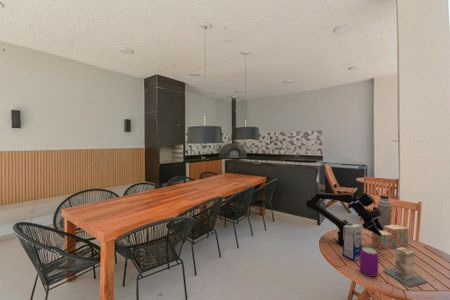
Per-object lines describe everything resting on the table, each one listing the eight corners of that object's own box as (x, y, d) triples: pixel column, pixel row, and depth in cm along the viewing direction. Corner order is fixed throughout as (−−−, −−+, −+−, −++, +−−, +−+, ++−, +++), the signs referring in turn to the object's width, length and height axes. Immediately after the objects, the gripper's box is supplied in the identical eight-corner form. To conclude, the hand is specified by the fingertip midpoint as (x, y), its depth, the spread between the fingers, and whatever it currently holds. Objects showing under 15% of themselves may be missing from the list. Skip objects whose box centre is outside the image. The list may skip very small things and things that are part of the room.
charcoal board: (408, 287, 97) (408, 285, 97) (383, 271, 108) (383, 270, 108) (426, 282, 100) (426, 281, 100) (400, 268, 112) (400, 266, 111)
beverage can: (356, 270, 110) (357, 248, 109) (365, 266, 113) (366, 245, 112) (371, 279, 103) (372, 255, 102) (381, 275, 106) (381, 252, 105)
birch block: (395, 273, 106) (396, 248, 105) (401, 271, 107) (402, 247, 107) (406, 279, 101) (407, 253, 100) (413, 277, 103) (414, 252, 102)
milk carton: (353, 261, 118) (354, 227, 117) (342, 255, 124) (343, 222, 123) (361, 258, 121) (362, 224, 120) (349, 252, 127) (350, 220, 126)
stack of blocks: (380, 249, 131) (380, 230, 130) (371, 244, 137) (372, 226, 136) (407, 246, 135) (408, 227, 134) (398, 241, 141) (398, 224, 140)
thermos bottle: (392, 235, 151) (393, 197, 149) (386, 237, 147) (388, 198, 146) (380, 230, 158) (381, 194, 156) (374, 233, 154) (375, 195, 153)
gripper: (369, 207, 120) (393, 231, 113) (374, 200, 133) (396, 221, 126) (353, 217, 125) (375, 240, 118) (359, 209, 139) (379, 230, 132)
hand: (382, 233), depth 123 cm, fingers open, 9 cm apart
